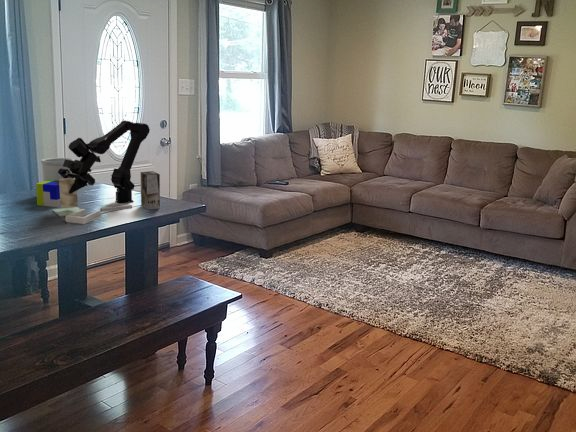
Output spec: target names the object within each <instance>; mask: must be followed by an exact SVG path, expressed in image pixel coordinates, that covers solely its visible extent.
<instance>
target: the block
mask: <svg viewBox="0 0 576 432" xmlns="http://www.w3.org/2000/svg"><path fill="white" fill-rule="evenodd" d="M74 182H75V178H74V179H72V178H65V179H59V188H60V206H59V207H60V208H72V207H78V205H79V204H78V190H77V191H75V192H73V193H71V194H70V193H69V191H70V189H71V187H72V186H73V184H74Z"/></svg>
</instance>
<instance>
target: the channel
mask: <svg viewBox="0 0 576 432" xmlns="http://www.w3.org/2000/svg"><path fill="white" fill-rule="evenodd" d="M81 209H82V210H79V211H77V212H74V213H72V214H69V215H67V216H64V217H65V222H66V223H72V224H80V225H81V224H83V225H85V224H87V223H89V222H92V221H94V220H96V219H98V218H101V217H102V216H101V215H102V213H101V212H102V211H101V210H96V211H94V212H92V213H89V214H87V212H86V211H87V210H86V208H81Z"/></svg>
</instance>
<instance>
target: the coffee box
mask: <svg viewBox="0 0 576 432" xmlns="http://www.w3.org/2000/svg"><path fill="white" fill-rule="evenodd" d="M160 177H161V175H160V173H158V172H156V171H153V170H152V171H140V206H142V207H143V208H144V209H146V210H158V209H161V205H160V204H161V201H160V200H161V195H160V193H161V190H160V189H161V187H160V186H161V184H160V183H161V181H160V180H161V178H160Z"/></svg>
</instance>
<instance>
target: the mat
mask: <svg viewBox="0 0 576 432" xmlns="http://www.w3.org/2000/svg"><path fill="white" fill-rule="evenodd" d="M82 209H83V208H81V207H78V206H77V207H72V208H64V207H61V208H54V209H51V210H52V212H53V213H55V214H56V215H58V216H59V217H65V216H67V215H69V214H72V213H74V212H77V211H79V210H82Z"/></svg>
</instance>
